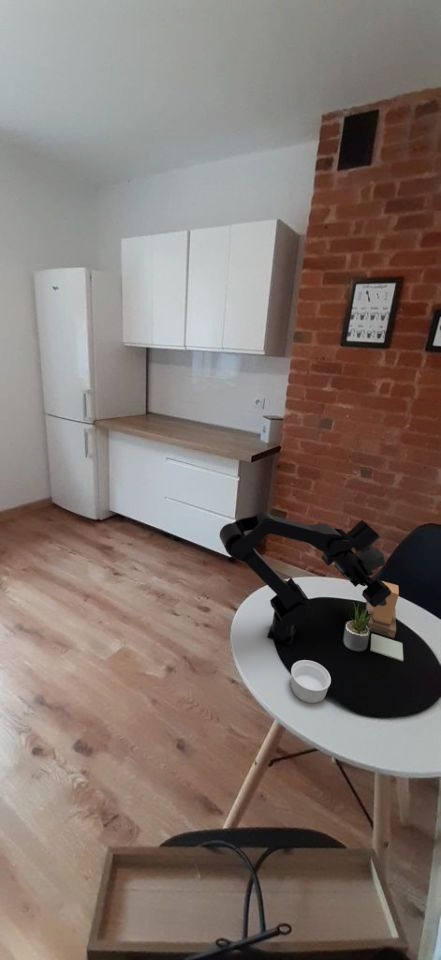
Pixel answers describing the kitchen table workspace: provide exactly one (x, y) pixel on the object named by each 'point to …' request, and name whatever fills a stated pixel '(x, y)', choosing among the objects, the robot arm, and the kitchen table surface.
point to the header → (381, 624)
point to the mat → (386, 647)
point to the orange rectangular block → (386, 606)
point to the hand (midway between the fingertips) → (374, 594)
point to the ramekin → (309, 681)
